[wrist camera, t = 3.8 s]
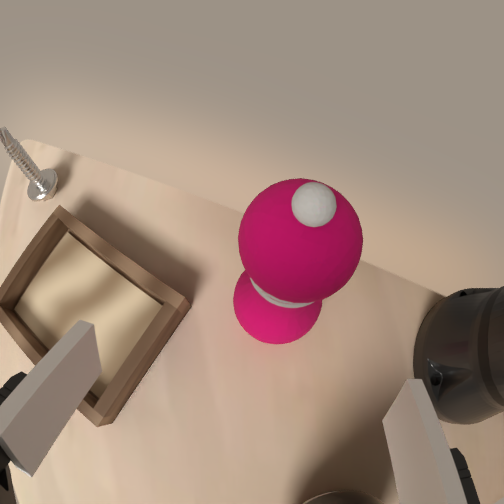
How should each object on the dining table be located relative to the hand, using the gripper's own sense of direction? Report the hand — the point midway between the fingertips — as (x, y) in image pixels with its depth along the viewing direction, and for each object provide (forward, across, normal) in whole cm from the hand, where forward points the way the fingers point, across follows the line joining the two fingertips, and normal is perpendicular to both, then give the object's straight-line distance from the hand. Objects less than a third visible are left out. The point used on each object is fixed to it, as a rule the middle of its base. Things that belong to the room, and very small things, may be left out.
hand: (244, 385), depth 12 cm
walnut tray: (+14, -18, -10) cm, 24 cm away
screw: (+23, -29, 0) cm, 38 cm away
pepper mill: (+17, +1, -7) cm, 18 cm away
